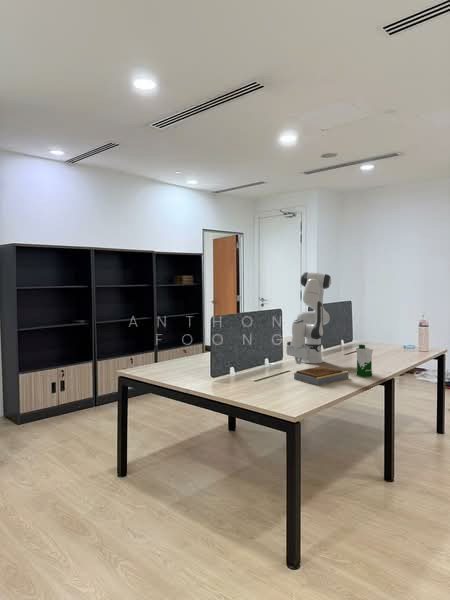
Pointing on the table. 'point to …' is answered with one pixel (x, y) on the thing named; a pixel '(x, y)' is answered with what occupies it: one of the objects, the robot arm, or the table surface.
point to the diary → (318, 371)
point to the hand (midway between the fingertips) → (298, 363)
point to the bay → (322, 378)
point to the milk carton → (364, 361)
